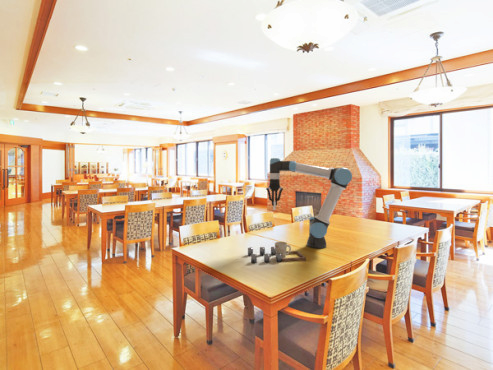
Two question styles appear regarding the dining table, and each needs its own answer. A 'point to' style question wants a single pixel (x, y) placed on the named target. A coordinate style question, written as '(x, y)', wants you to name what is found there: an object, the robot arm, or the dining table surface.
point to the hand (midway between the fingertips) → (274, 209)
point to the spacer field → (266, 256)
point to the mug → (282, 248)
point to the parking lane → (301, 258)
